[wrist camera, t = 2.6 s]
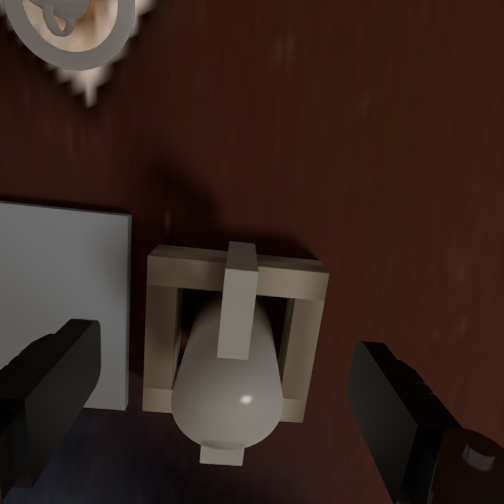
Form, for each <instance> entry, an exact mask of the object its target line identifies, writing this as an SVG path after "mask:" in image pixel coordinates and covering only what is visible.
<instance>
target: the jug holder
mask: <svg viewBox="0 0 504 504" xmlns="http://www.w3.org/2000/svg"><path fill="white" fill-rule="evenodd" d="M227 255H228V251H219V250H209V249H199V248H189V247H179V246H169V245H158V246H157V247H156V248H155V249H154V250H153V251H152V252H151V253H150V254H149V255H148V262H147V293H146V323H145V354H144V385H143V411H152V412H165V413H172V409H171V396H172V392H173V389H174V385H175V382H176V379H177V375H178V372H179V369H180V366H179V353H180V337H181V321H182V305H183V289H184V288H190V289H201V290H211V291H222V292H223V288H224V278H225V268H226V262H227ZM256 256H257V263H258V270H259V274H258V283H257V291H256V295H264V296H275V297H286V298H287V304H286V310H285V317H284V324H283V331H282V337H281V344H280V351H279V358H278V370H279V376H280V382H281V388H282V394H283V411H282V415H281V418H280V420H279V421H287V422H300V423H303V417H304V412H305V406H306V400H307V395H308V389H309V384H310V378H311V373H312V367H313V361H314V356H315V350H316V345H317V339H318V334H319V328H320V323H321V317H322V311H323V306H324V300H325V295H326V289H327V284H328V278H329V272H328V271H327V270H326V268H325V267H324V266H323V264H322V263H321V262H320V261H319V260H309V259H299V258H289V257H279V256H269V255H259V254H256Z"/></svg>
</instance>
